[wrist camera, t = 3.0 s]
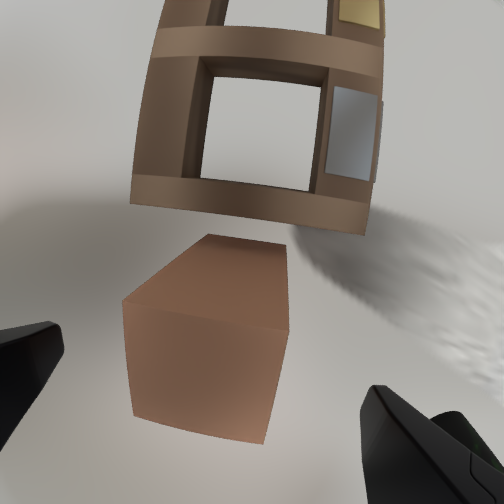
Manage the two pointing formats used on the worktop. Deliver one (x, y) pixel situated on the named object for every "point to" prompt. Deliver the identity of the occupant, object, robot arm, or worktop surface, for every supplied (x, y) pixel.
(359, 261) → the worktop surface
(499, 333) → the worktop surface
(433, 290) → the worktop surface
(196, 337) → the tan rectangular block
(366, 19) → the socket block
